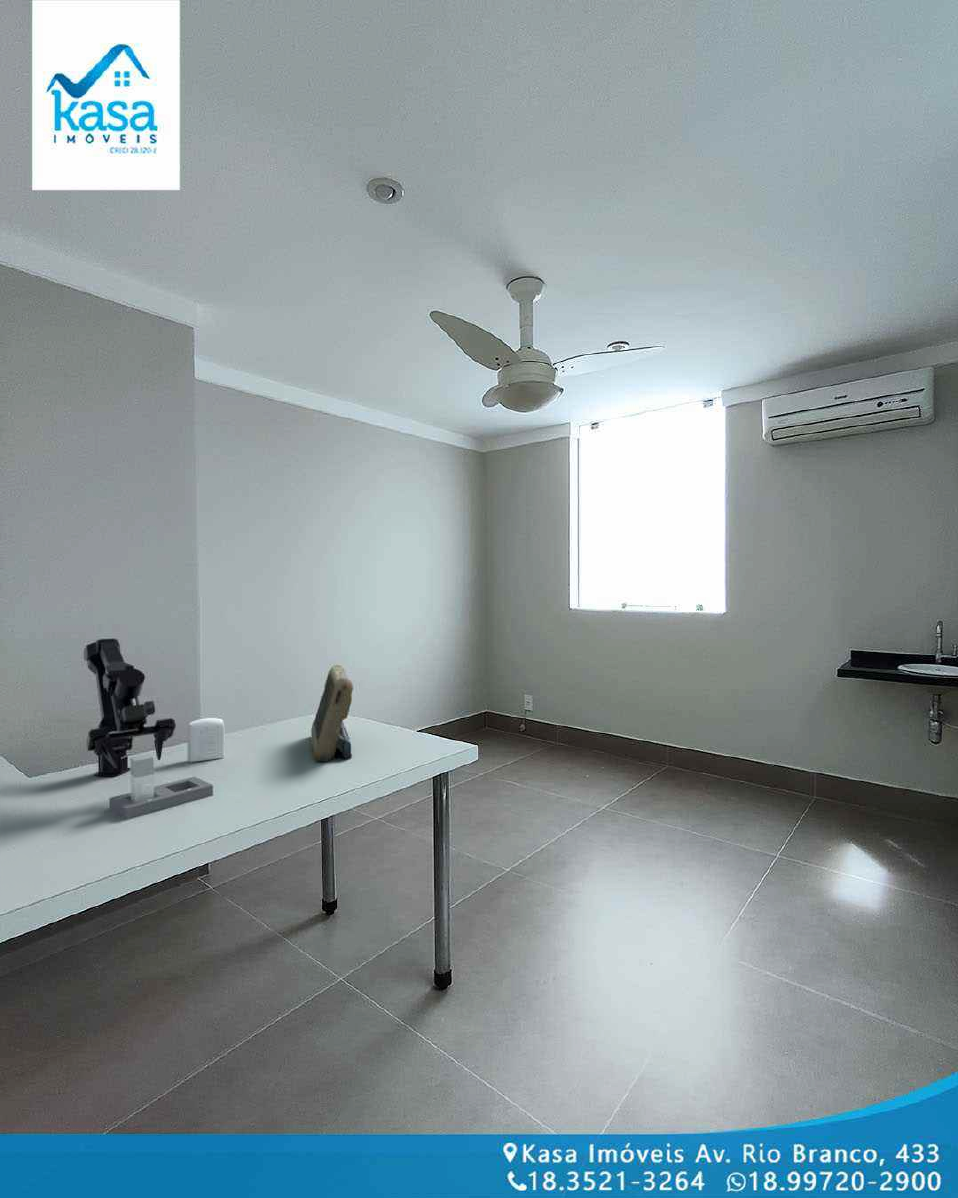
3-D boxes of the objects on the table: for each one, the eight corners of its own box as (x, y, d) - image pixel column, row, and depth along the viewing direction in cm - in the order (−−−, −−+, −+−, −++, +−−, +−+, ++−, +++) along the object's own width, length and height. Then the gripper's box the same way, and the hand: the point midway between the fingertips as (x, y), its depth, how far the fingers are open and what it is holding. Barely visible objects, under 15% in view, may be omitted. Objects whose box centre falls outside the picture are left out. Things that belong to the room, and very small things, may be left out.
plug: (131, 806, 141) (130, 757, 140) (149, 802, 143) (149, 753, 143) (136, 812, 137) (135, 761, 137) (155, 808, 140) (154, 758, 139)
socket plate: (109, 808, 139) (109, 797, 139) (194, 785, 155) (194, 775, 155) (125, 819, 133) (125, 807, 133) (212, 794, 149) (212, 784, 148)
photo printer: (223, 754, 183) (222, 715, 182) (225, 758, 179) (225, 717, 179) (186, 760, 177) (186, 719, 176) (188, 763, 173) (188, 722, 173)
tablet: (303, 736, 204) (303, 665, 203) (343, 733, 209) (343, 663, 208) (315, 764, 174) (314, 680, 173) (362, 759, 179) (362, 677, 178)
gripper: (87, 696, 140) (97, 753, 132) (173, 687, 152) (186, 738, 145) (82, 722, 146) (91, 778, 138) (165, 711, 158) (177, 762, 151)
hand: (138, 763), depth 143 cm, fingers open, 9 cm apart
